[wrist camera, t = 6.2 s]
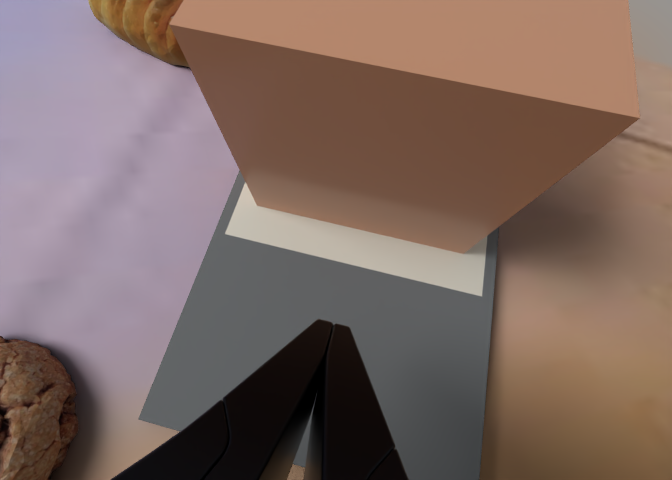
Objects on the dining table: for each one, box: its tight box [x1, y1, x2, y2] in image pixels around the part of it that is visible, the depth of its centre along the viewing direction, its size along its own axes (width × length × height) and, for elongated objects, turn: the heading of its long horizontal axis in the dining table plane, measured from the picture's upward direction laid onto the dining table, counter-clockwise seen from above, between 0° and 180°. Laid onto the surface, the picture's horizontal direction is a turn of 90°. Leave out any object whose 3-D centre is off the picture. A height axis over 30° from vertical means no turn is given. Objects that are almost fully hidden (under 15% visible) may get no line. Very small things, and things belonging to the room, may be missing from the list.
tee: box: [169, 0, 640, 254], centre depth 13 cm, size 12×10×9 cm
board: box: [139, 171, 499, 480], centre depth 16 cm, size 22×13×1 cm, turn 166°
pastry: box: [88, 0, 190, 67], centre depth 19 cm, size 9×7×4 cm
